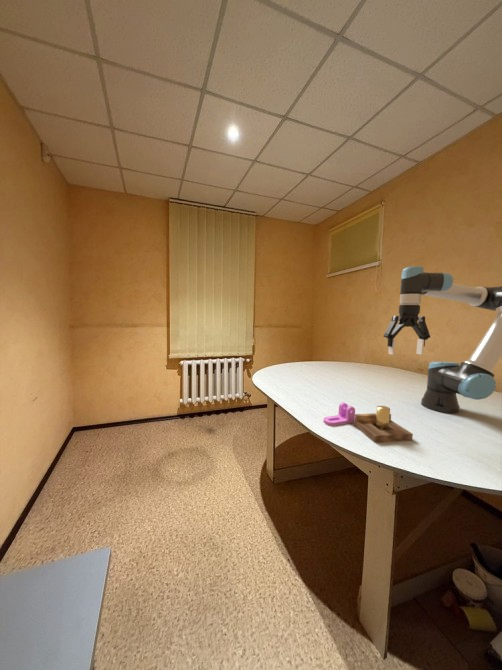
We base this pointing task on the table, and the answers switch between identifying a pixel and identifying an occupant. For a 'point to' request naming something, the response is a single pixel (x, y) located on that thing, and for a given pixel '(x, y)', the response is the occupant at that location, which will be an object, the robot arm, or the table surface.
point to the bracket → (341, 416)
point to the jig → (368, 427)
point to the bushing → (382, 417)
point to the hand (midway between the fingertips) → (405, 354)
